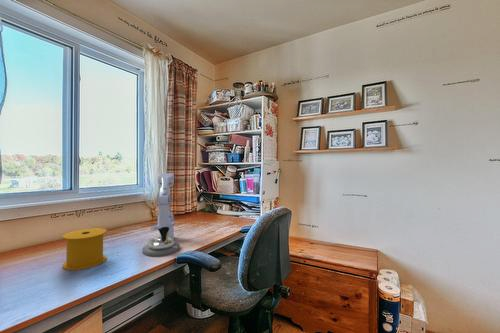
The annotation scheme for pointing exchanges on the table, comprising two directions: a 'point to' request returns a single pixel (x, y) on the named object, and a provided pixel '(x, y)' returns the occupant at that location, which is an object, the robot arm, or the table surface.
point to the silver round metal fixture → (161, 243)
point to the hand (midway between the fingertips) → (163, 240)
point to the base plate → (160, 252)
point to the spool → (84, 248)
